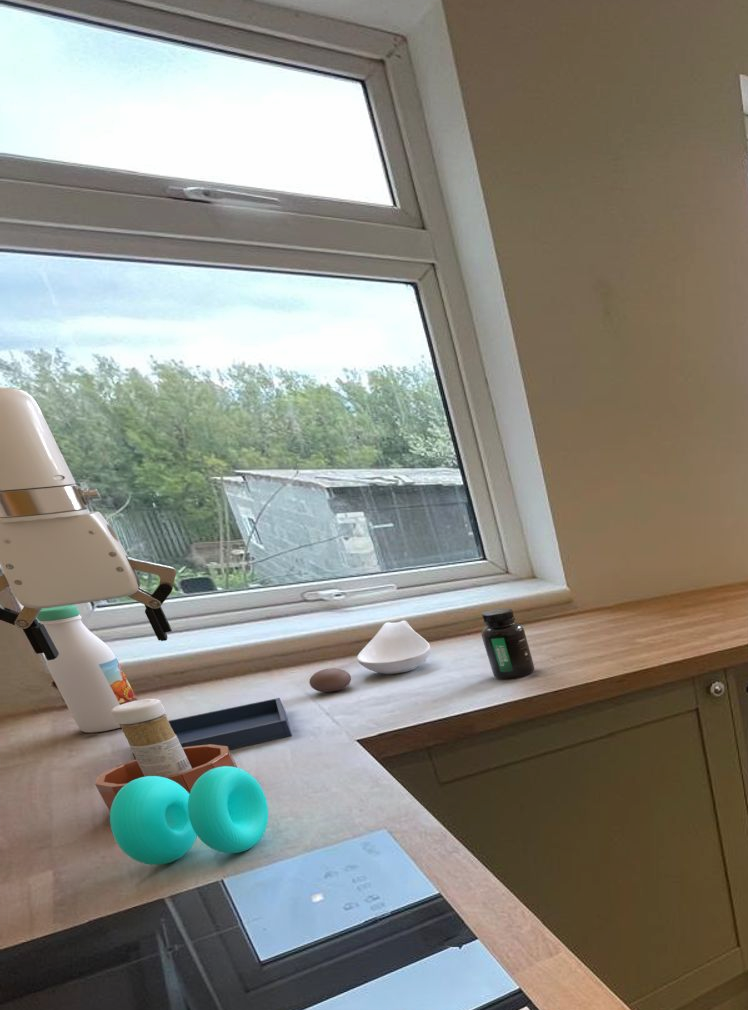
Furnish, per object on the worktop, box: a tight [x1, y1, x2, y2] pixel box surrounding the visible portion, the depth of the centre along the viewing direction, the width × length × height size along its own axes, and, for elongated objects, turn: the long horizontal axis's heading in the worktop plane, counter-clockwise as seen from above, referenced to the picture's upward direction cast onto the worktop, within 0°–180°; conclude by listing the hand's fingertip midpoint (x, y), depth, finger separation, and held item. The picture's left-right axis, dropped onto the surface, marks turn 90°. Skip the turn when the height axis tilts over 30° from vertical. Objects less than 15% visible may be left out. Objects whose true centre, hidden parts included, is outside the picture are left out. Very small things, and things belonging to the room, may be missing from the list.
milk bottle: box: [36, 604, 138, 733], centre depth 131 cm, size 8×8×20 cm
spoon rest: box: [356, 619, 431, 675], centre depth 161 cm, size 24×12×7 cm, turn 31°
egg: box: [308, 667, 352, 693], centre depth 146 cm, size 6×6×4 cm
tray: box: [132, 697, 293, 760], centre depth 127 cm, size 17×15×3 cm
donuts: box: [109, 766, 269, 866], centre depth 92 cm, size 10×10×10 cm
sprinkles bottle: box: [111, 698, 192, 777], centre depth 105 cm, size 5×5×14 cm
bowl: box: [95, 744, 239, 812], centre depth 106 cm, size 13×13×5 cm
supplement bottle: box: [481, 608, 535, 680], centre depth 150 cm, size 7×7×12 cm
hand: (110, 648), depth 99 cm, fingers open, 9 cm apart
